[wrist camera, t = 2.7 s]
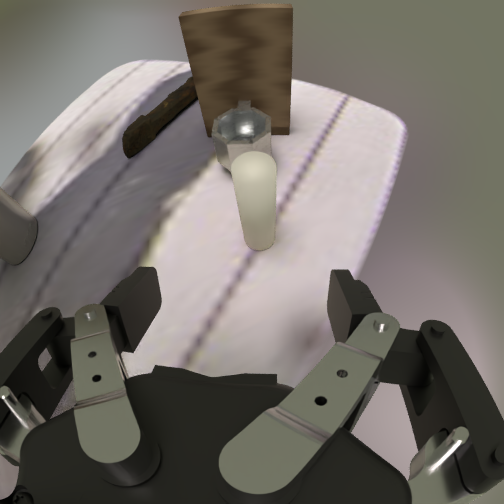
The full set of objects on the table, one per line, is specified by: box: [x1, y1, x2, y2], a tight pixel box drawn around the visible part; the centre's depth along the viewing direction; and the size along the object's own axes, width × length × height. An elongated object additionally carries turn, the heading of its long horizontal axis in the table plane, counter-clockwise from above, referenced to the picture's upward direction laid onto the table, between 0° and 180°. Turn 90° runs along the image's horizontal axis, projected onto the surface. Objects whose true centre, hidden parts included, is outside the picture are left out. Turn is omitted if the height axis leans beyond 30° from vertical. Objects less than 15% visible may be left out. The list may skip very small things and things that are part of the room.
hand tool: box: [122, 77, 197, 158], centre depth 40 cm, size 19×4×5 cm, turn 147°
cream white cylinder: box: [231, 151, 277, 251], centre depth 26 cm, size 4×4×12 cm
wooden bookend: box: [179, 4, 293, 137], centre depth 30 cm, size 12×6×20 cm, turn 88°
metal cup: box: [212, 101, 271, 172], centre depth 32 cm, size 7×9×5 cm
